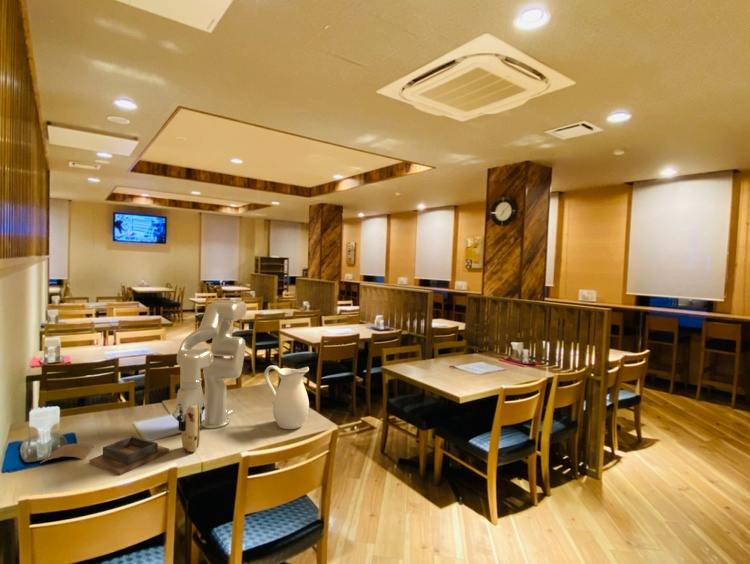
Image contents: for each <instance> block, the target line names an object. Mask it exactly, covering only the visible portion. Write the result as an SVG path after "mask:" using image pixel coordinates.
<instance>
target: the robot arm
mask: <svg viewBox="0 0 750 564" xmlns="http://www.w3.org/2000/svg"><path fill="white" fill-rule="evenodd" d="M247 310H248V309H247V304H246V302H245V301H243V300H229V299H228V300H222V299H220V300H214V301H213V302H211V303H209V304H208V306H207V307H206V310H205V311H204V314H203V318H202V320H201V323H200V324H199V325H200V326H199V327H198V328H197V329H196V330H194V331H193V332H191V333H190V334H188V335H187V336H186V337H185V338H184V339H183V340H182V342H181V345H180V346H179V349H178V351H177V354H176V363H177V365H178V366H179V367H180V369H179V371H180V373H179V374H180V379H179V380H180V385H179V386H180V387H179V389H178V390H177V394H176V403H175V410H174V411H173V412H172V414H171V416H172V417H173V418H174V419H175V420H176V421H177V422H178V431H180V432H181V431H185V430H186V422H185V421H184V420H185V417H186V415H187V413H188V409H189V407H190V406H191V405H193V406H195V405H197V408H198V406H199V407H200V427H202V428H204V429H219V428H223V427H225V426H227V425H229V423H230V418H229V416H230V415H232V414H234V410H232V409H230V410H227V384H226V382H225V380H224V379H226V380H229V379H231V380H232V379H238V378H239V377H241V374H242V371H243V366H244V359H245V353H246V348H247V347H246V340H245V339H244V338H243V337H241V336H233V330H234V327H233V324H232V323H231V322H237V321H239V320H241V319H243V318H244V317H245V316H246V314H247V312H248V311H247ZM211 339H212V341H211V344H210V350H208V349H193V347H194V346H196V345H199V344H200V343H203V342H206V341H209V340H211ZM214 356H215V357H214ZM216 356H217V357H216ZM202 372H203V377H204V393H203V387H202V385H201V384H202V381H203V379H202V378H201V377H202V374H201V373H202ZM203 414H204V419H203V420H202V416H203ZM182 415H183V416H182Z"/></svg>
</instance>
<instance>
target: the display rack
mask: <svg viewBox="0 0 750 564" xmlns="http://www.w3.org/2000/svg"><path fill="white" fill-rule="evenodd" d="M169 453H170V448H168V447H165V446H162V445H159V444H158V442H154V441H151V440H148V439H145V438H141V437H138V436H136V435H130V436H128V437H126V438H123V439H120V440H118V441H115V442H114V443H113V442H112V443H110V444H108V445H106V446H103V447H102V454H100V455H97V456H95V457H93V458H90V459H89V460H88V462H89V465H92V466H94V467H97V468H100V469H102V470H105V471H108V472H110V473H113V474H116V475H119V476H121V475H122V476H123V475H124V474H126V473H128V472H130V471H132V470H135V469H136V468H139V467H141V466H143V465H145V464H148V463H149V462H152V461H154V460H155V459H158V458H160V457H162V456H164V455H166V454H169Z"/></svg>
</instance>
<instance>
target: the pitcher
mask: <svg viewBox="0 0 750 564" xmlns="http://www.w3.org/2000/svg"><path fill="white" fill-rule="evenodd" d="M270 370H274V371H275V372H276V373H277V374H278V376H279V378H280V383H279V386H278V388H277V390H275V388H274V386H273V384H272V383H271V381H270V377H269V372H270ZM309 371H310V368H309V366H305V367H302V368H301V367H300V368H298V369H293V368H289V367H286V368H285V367H283V368H280V367H279V366H278V365H269V366H267V367H266V369H264V375H263V376H264V380H265V383H266V385H267V387H268V388H269V390H270V391H271V394H272V396H273V401H272V413H273V418H274V420H275V422H276V424H277V426H278V427H279V428H281V429H283V430H296V429H299V428H301V427H302V426H304V424H305V422H306V421H307V418H308V414H309V409H310V401H309V396H308V395H309V394H308V392H307V390H306V387H305V384H304V380H303V379H304V378H303V377H304V376H305V374H306V373H308V372H309Z"/></svg>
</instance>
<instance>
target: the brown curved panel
mask: <svg viewBox="0 0 750 564" xmlns="http://www.w3.org/2000/svg"><path fill="white" fill-rule="evenodd" d="M59 447H60V448H59ZM59 447H58V448H59V449H57V448H56V449H57V450H56V451H55V452H53V453H52V454H51V455H50V456H49V457H47V456H46V457H47V458H46V457H45V458H46V459H45V458H44V459H45V460H44V459H43V460H42V461H40V464H42V463H44V462H46V461H48V460H52V459H57V458H61V457H68V458H69V457H73V458H77V459H80V460H85V459H86V458H87V456H88V455H89V454H90V453H91V451H92V450H93V449H94V448H95V447H94V446H93V445H91V444H88V443H82V442H81V443H68V444H64V445H61V446H59Z"/></svg>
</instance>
